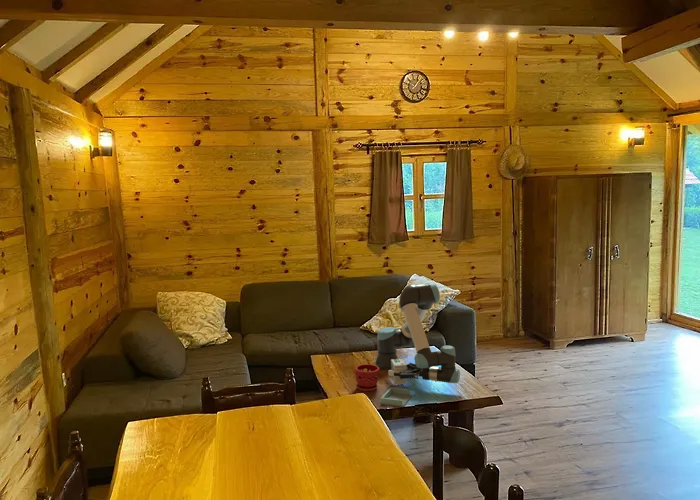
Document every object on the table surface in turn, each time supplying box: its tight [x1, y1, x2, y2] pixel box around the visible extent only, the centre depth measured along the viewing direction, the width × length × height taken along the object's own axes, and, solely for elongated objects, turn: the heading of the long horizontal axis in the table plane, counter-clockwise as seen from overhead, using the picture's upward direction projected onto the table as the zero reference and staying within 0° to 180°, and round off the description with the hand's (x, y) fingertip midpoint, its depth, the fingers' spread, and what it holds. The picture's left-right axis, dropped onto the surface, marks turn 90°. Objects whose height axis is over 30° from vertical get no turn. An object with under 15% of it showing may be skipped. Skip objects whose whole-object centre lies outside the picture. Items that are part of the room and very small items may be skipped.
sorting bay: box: [380, 387, 413, 408], centre depth 266 cm, size 12×16×3 cm
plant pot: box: [354, 363, 380, 392], centre depth 282 cm, size 13×13×12 cm
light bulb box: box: [390, 358, 407, 385], centre depth 285 cm, size 11×7×11 cm, turn 6°
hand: (392, 369), depth 286 cm, fingers closed on light bulb box, 12 cm apart
